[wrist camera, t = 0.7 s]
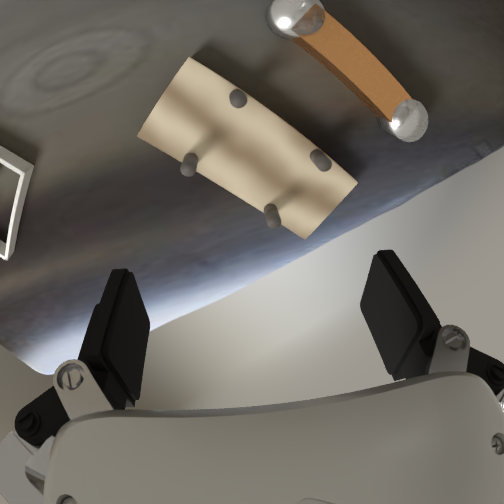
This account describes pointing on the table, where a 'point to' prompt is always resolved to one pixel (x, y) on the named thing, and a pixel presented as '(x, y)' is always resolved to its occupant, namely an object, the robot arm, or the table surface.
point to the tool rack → (245, 149)
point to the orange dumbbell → (349, 64)
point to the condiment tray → (25, 171)
